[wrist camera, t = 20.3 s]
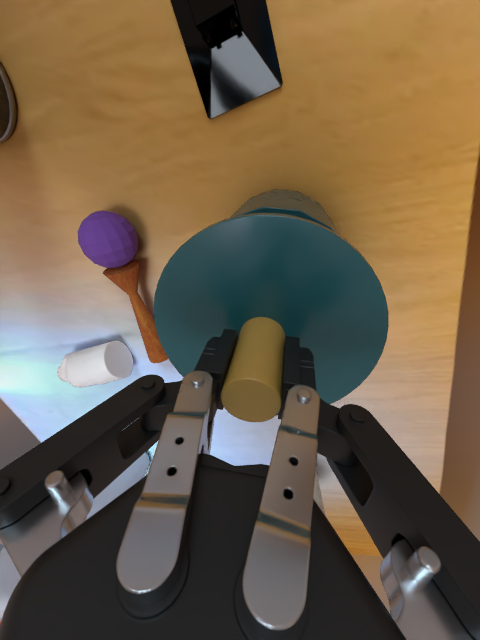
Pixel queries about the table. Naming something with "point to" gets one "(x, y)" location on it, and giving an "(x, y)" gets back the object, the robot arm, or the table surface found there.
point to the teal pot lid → (272, 307)
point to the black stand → (229, 50)
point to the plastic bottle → (3, 572)
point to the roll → (96, 365)
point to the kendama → (120, 267)
